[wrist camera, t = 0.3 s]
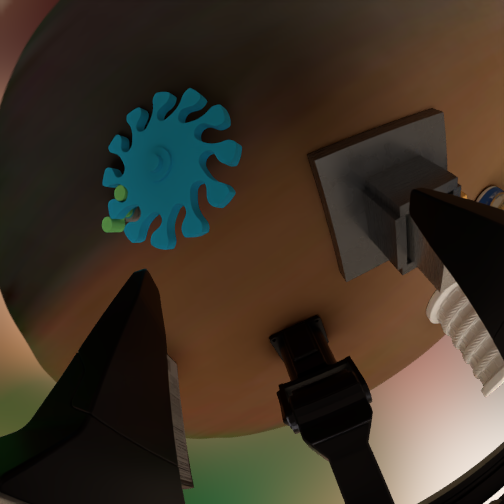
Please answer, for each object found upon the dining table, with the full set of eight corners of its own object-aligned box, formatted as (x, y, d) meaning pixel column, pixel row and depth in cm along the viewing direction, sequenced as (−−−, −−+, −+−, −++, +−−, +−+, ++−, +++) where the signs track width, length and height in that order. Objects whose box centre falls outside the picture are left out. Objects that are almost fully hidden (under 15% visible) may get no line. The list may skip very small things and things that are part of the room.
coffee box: (121, 381, 34) (125, 494, 22) (91, 356, 30) (83, 483, 18) (179, 364, 34) (196, 489, 21) (151, 336, 30) (160, 481, 17)
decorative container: (421, 328, 45) (473, 407, 30) (430, 285, 37) (501, 378, 23) (466, 299, 44) (519, 368, 30) (480, 254, 37) (548, 330, 23)
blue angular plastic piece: (182, 55, 15) (268, 179, 14) (223, 91, 20) (295, 194, 19) (74, 166, 18) (122, 289, 17) (126, 176, 24) (174, 277, 23)
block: (418, 212, 26) (478, 266, 19) (381, 231, 26) (439, 294, 19) (416, 171, 23) (487, 221, 16) (376, 189, 23) (444, 249, 16)
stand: (438, 221, 30) (474, 253, 25) (340, 273, 31) (369, 317, 26) (432, 108, 22) (484, 129, 16) (307, 154, 22) (347, 188, 17)
